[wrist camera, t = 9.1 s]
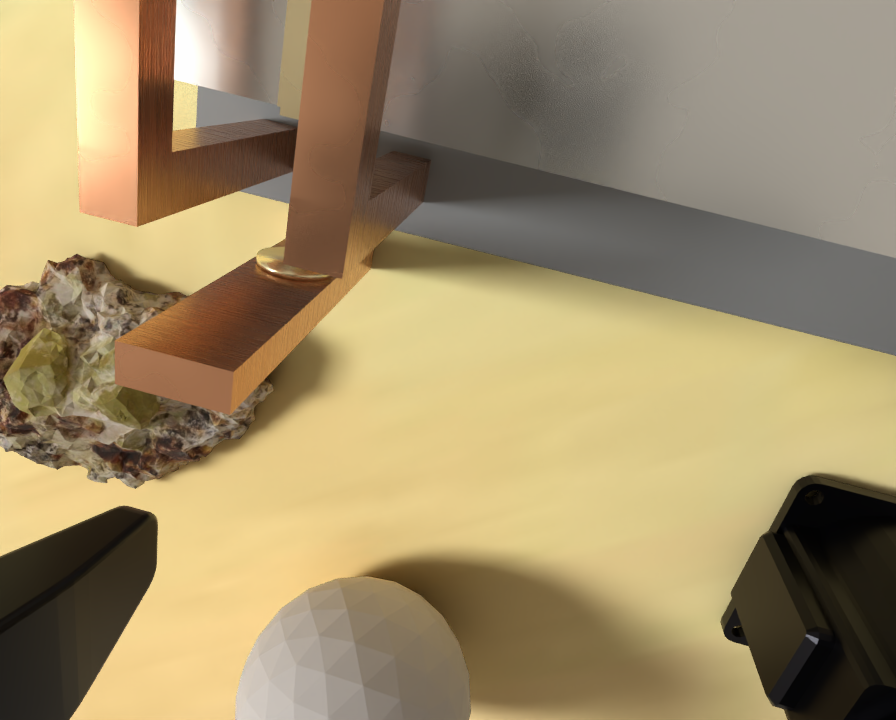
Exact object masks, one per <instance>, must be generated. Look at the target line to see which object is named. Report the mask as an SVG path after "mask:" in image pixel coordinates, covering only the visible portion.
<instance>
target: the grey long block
mask: <svg viewBox="0 0 896 720" xmlns="http://www.w3.org/2000/svg"><path fill="white" fill-rule="evenodd" d="M311 1H312V0H176V32H175V65H174V80H178V81H182V82H186V83H190V84H194V85H198V86H202V87H206V88H210V89H214V90H218V91H222V92H226V93H230V94H234V95H239V96H243V97H247V98H251V99H255V100H259V101H263V102H267V103H271V104H275V105H277V106H278V107H280V115H281V116H285V117H289V118H293V119H297V120H299V112H300V102H301V93H302V84H303V75H304V65H305V56H306V47H307V38H308V29H309V19H310V10H311ZM380 131H384V132H388V133H392V134H396V135H400V136H404V137H408V138H412V139H416V140H420V141H425V142H429V143H433V144H437V145H441V146H445V147H449V148H453V149H457V150H461V151H465V152H469V153H473V154H477V155H481V156H485V157H489V158H493V159H497V160H501V161H505V162H509V163H513V164H518V165H522V166H526V167H530V168H534V169H538V170H542V171H546V172H550V173H554V174H558V175H562V176H566V177H570V178H574V179H578V180H582V181H586V182H590V183H594V184H598V185H602V186H606V187H611V188H615V189H619V190H623V191H627V192H631V193H635V194H639V195H643V196H647V197H651V198H655V199H659V200H663V201H667V202H671V203H675V204H679V205H683V206H687V207H691V208H695V209H699V210H704V211H708V212H712V213H716V214H720V215H724V216H728V217H732V218H736V219H740V220H744V221H748V222H752V223H756V224H760V225H764V226H768V227H772V228H776V229H780V230H784V231H788V232H792V233H797V234H801V235H805V236H809V237H813V238H817V239H821V240H825V241H829V242H833V243H837V244H841V245H845V246H849V247H853V248H857V249H861V250H865V251H869V252H873V253H877V254H881V255H885V256H890V257H894V258H896V0H401V4H400V11H399V17H398V23H397V29H396V36H395V42H394V48H393V54H392V61H391V67H390V73H389V79H388V85H387V92H386V98H385V104H384V110H383V117H382V123H381V129H380Z"/></svg>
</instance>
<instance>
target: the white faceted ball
mask: <svg viewBox="0 0 896 720" xmlns="http://www.w3.org/2000/svg"><path fill="white" fill-rule="evenodd" d="M470 713H471V706H470V682H469V672H468V669H467V666H466V663H465V660H464V656H463V653H462V650H461V647H460V644H459V641H458V640H457V638H456V636H455V635H454V633H453V632H452V630H451V628H450V627H449V625H448V623H447V622H446V620H445V619H444V617H443V616H442V615H441V614H440V613H439V612H438V611H437V610H436V609H435V608H434V607H433V606H432V605H431V604H430V603H428V602H427V601H426V600H425V599H424V598H423V597H422V596H421V595H419V594H418V593H416V592H414V591H412V590H410V589H408V588H406V587H404V586H402V585H400V584H399V583H397V582H394V581H389V580H384V579H379V578H374V577H368V576H363V577H352V578H340V579H335V580H332V581H330V582H327V583H324V584H321V585H318V586H315V587H313V588H310V589H308V590H306V591H305V592H304V593H302V594H301V595H299V596H298V597H297V598H295V599H294V600H292V601H291V602H289V603H288V604H287V605H285V606H284V607H282V608H281V609H280V611H279V612H278V613H277V614H276V615H275V617H274V618H273V619H272V620H271V621H270V623H269V624H268V625H267V626H266V628H265V629H264V630H263V631H262V633H261V634H260V635H259V636H258V638H257V640H256V642H255V644H254V646H253V648H252V650H251V652H250V654H249V656H248V658H247V660H246V663H245V666H244V669H243V672H242V675H241V678H240V683H239V687H238V691H237V695H236V711H235V720H469V717H470Z"/></svg>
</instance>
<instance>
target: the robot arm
mask: <svg viewBox="0 0 896 720" xmlns="http://www.w3.org/2000/svg"><path fill="white" fill-rule="evenodd" d="M811 491H818V493H817V494H816V495H815V496H812V497H805V496H806V495H807V494H808V493H809V492H811ZM157 536H158V522H157V518H156V516H155V515H154V514H152V513H151V512H147V511H144V510H140V509H136V508H133V507H129V506H119V507H116V508H114V509H111V510H109V511H106V512H104V513H102V514H99V515H97V516H95V517H92V518H90V519H88V520H85V521H83V522H80V523H78V524H76V525H73V526H71V527H69V528H66V529H64V530H62V531H59V532H57V533H54V534H52V535H50V536H47V537H45V538H43V539H40V540H38V541H36V542H33V543H31V544H28V545H26V546H24V547H21V548H19V549H17V550H14V551H12V552H10V553H7V554H5V555H2V556H0V720H70V718H71V717H72V715H73V714H74V712H75V711H76V709H77V708H78V706H79V705H80V703H81V702H82V700H83V698H84V697H85V695H86V694H87V692H88V690H89V689H90V687H91V685H92V684H93V682H94V680H95V679H96V677H97V675H98V674H99V672H100V670H101V668H102V667H103V665H104V663H105V662H106V660H107V658H108V656H109V655H110V653H111V651H112V650H113V648H114V646H115V644H116V643H117V641H118V639H119V638H120V636H121V634H122V632H123V631H124V629H125V627H126V626H127V624H128V622H129V620H130V619H131V617H132V615H133V614H134V612H135V610H136V608H137V607H138V605H139V603H140V602H141V600H142V598H143V596H144V595H145V593H146V591H147V590H148V588H149V586H150V584H151V582H152V580H153V577H154V574H155V571H156V565H157ZM731 596H732V600H731V602H730V603H729V605H728V607H727V609H726V611H725V613H724V615H723V616H722V619H721V625H722V629H723V632H724V635H725V637H726V638H727V639H728V640H730V641H733V642H735V643H739V644H743V645H746V646H749V648H750V651H751V653H752V656H753V659H754V662H755V665H756V668H757V671H758V674H759V676H760V679H761V682H762V685H763V688H764V691H765V694H766V696H767V697H768V699H769V701H770V702H771V704H772V706H775V707H779V708H782V709H784V711H785V713H786V716H787V719H788V720H896V497H894V496H890V495H886V494H883V493H879V492H875V491H871V490H867V489H863V488H860V487H856V486H852V485H848V484H844V483H840V482H837V481H833V480H829V479H825V478H821V477H817V476H807V477H803V478H801V479H799V480H797V481H796V482H795V484H794V485H793V486H792V488H791V490H790V492H789V494H788V496H787V497H786V499H785V501H784V503H783V505H782V507H781V509H780V510H779V512H778V514H777V516H776V518H775V520H774V522H773V523H772V525H771V527H770V529H769V531H767V532H766V533H765V534H763V535H762V536H761V537H760V539H759V540H758V542H757V544H756V546H755V548H754V550H753V552H752V554H751V555H750V557H749V559H748V561H747V563H746V565H745V567H744V569H743V570H742V572H741V574H740V576H739V578H738V580H737V582H736V584H735V585H734V587H733V589H732V591H731ZM738 625H741V626H742V627H739V628H734V627H735V626H738Z"/></svg>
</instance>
